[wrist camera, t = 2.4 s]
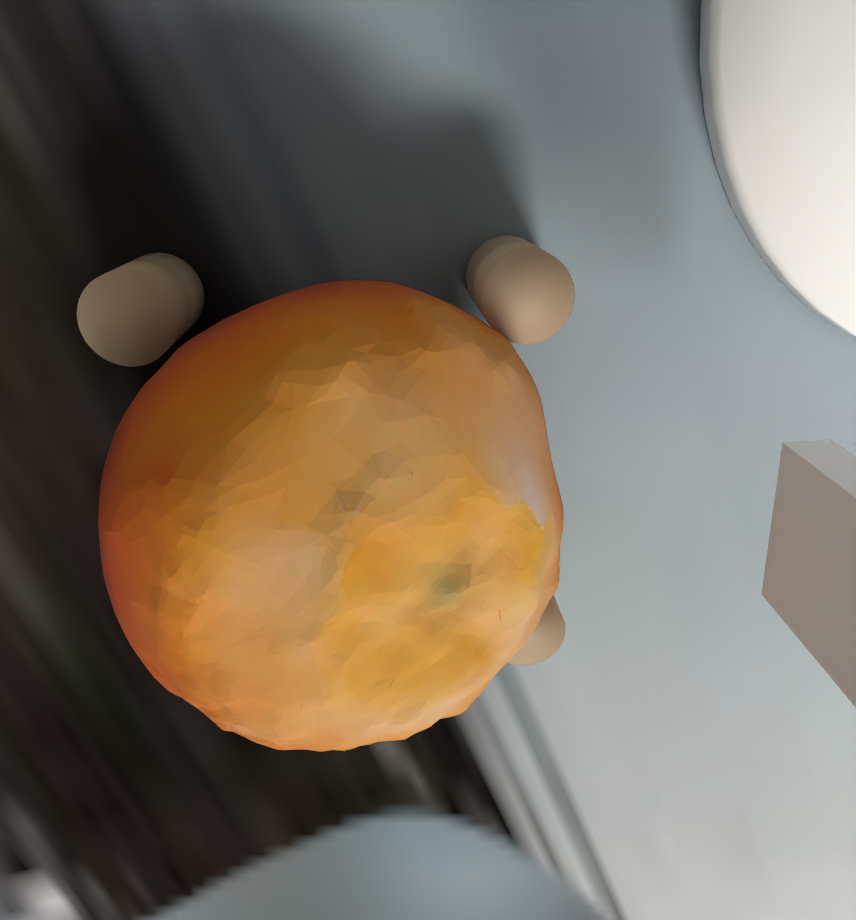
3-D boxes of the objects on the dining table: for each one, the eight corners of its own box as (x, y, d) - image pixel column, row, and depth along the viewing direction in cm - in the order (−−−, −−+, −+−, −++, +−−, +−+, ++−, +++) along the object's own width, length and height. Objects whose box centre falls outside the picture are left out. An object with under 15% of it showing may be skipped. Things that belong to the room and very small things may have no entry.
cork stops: (183, 624, 18) (155, 693, 16) (114, 254, 15) (67, 273, 13) (540, 598, 19) (564, 662, 16) (545, 232, 16) (575, 247, 13)
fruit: (12, 244, 14) (155, 349, 8) (395, 241, 18) (678, 308, 12) (61, 637, 17) (192, 937, 11) (380, 553, 21) (601, 731, 15)
